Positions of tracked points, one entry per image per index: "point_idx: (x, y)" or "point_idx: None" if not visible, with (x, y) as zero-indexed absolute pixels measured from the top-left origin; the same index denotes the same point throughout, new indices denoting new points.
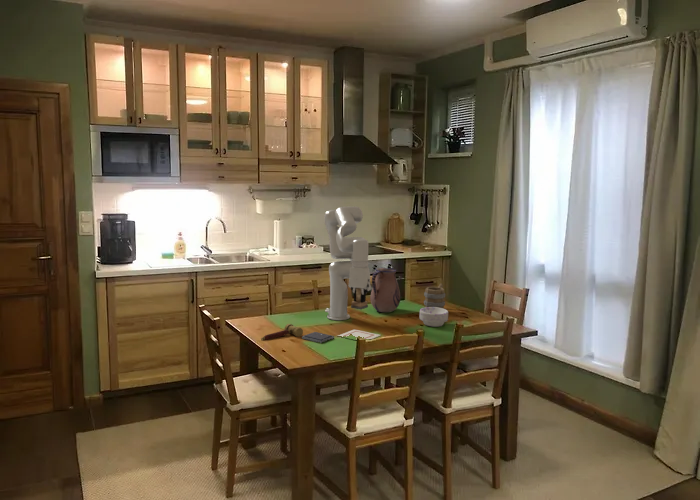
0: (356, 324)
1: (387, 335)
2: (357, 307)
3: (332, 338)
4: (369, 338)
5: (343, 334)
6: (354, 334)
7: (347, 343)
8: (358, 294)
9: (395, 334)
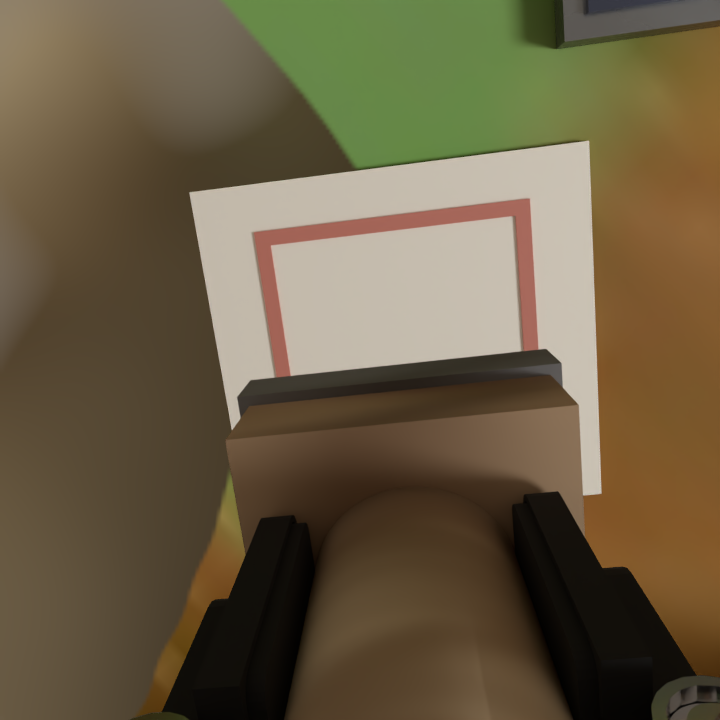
0: (716, 660)
1: (207, 571)
2: (350, 379)
3: (556, 7)
4: (240, 345)
5: (565, 249)
6: (466, 343)
7: (299, 21)
8: (368, 653)
9: (178, 646)
